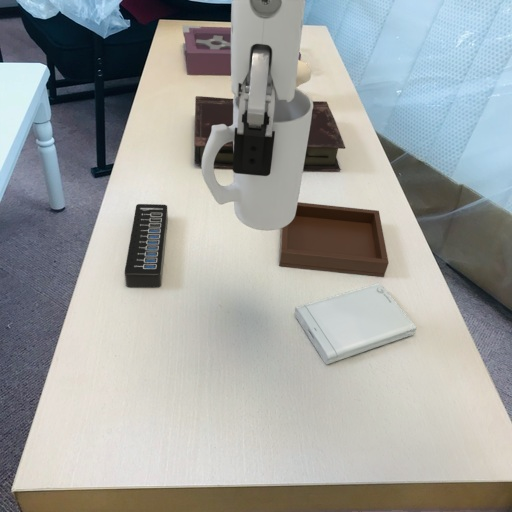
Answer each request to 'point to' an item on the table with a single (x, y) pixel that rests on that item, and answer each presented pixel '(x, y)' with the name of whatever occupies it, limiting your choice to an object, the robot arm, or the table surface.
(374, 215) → the shallow brown tray
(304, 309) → the hard drive
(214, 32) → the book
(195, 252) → the table surface
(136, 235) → the multiport hub
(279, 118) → the mug
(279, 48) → the robot arm
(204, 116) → the diary
